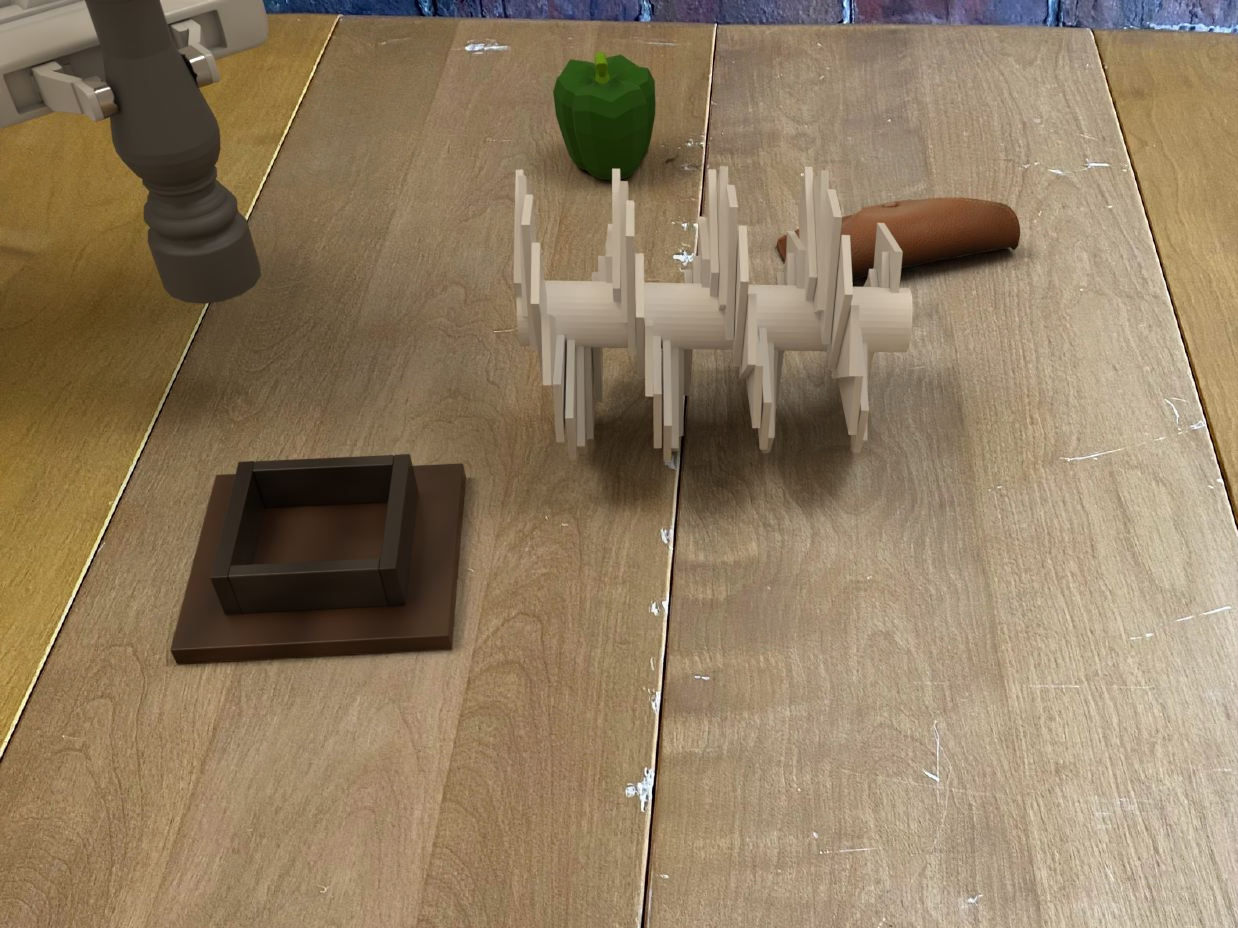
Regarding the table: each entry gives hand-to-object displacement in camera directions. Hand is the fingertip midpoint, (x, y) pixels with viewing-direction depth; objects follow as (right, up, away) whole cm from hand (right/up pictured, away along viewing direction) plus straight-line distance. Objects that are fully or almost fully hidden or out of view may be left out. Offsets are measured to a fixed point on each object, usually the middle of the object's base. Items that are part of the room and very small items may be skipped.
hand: (156, 88), depth 81 cm
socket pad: (+8, -27, +6) cm, 29 cm away
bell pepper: (+22, +12, +39) cm, 46 cm away
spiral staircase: (+32, -16, +16) cm, 39 cm away
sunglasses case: (+45, +1, +30) cm, 55 cm away
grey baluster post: (-1, -8, +10) cm, 13 cm away
